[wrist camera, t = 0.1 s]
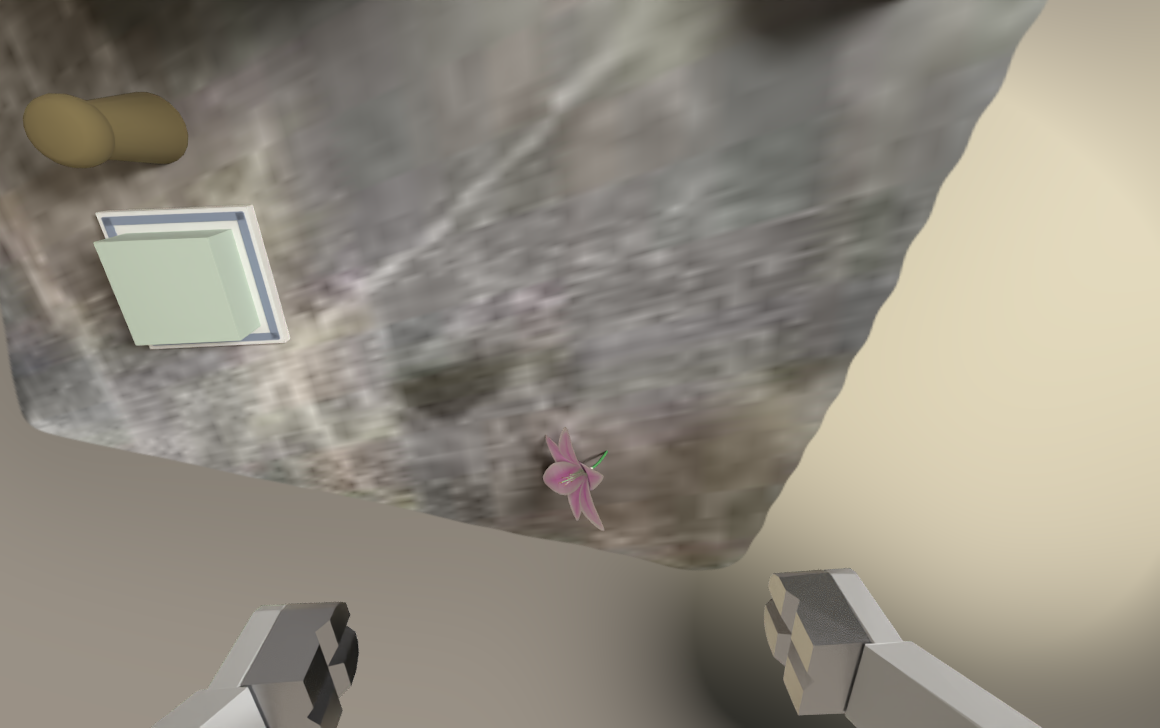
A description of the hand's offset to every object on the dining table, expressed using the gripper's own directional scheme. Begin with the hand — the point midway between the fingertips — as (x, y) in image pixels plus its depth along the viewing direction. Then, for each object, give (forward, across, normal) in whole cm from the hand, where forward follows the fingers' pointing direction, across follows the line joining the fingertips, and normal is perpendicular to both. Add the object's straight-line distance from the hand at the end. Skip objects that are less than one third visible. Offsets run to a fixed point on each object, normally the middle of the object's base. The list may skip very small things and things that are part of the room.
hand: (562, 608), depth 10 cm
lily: (+48, -1, +29) cm, 56 cm away
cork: (+48, +36, -9) cm, 61 cm away
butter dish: (+48, +36, +5) cm, 60 cm away
